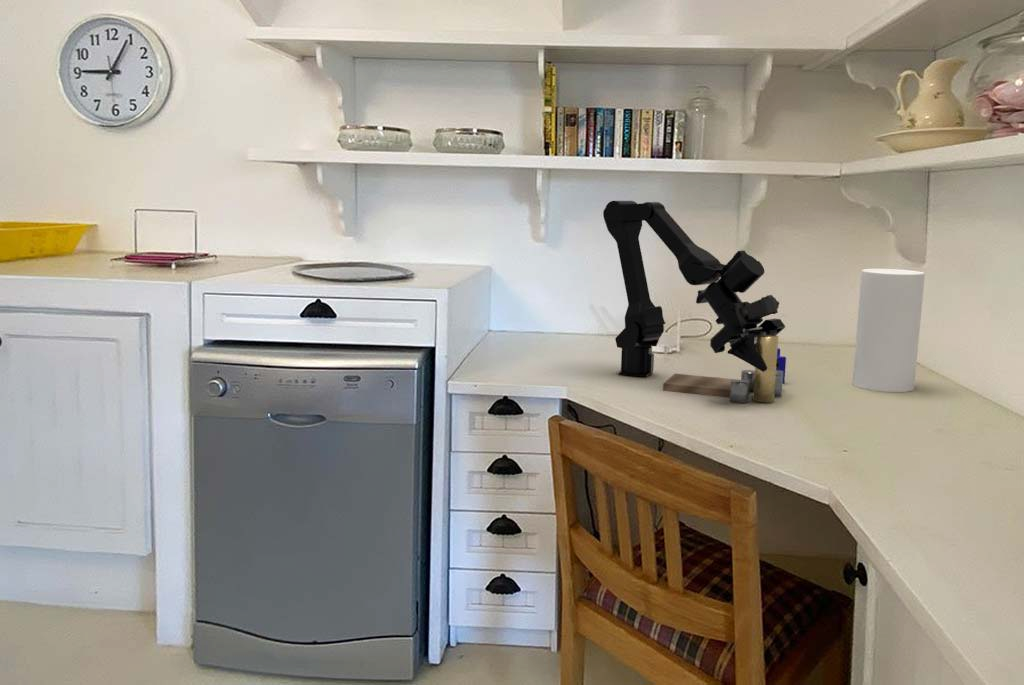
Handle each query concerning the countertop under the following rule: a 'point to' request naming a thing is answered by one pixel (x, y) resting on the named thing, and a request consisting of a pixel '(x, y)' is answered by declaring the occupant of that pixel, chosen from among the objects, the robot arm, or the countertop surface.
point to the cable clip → (781, 363)
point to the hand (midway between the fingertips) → (771, 369)
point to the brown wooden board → (698, 385)
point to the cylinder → (888, 329)
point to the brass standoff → (766, 379)
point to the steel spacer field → (751, 386)
